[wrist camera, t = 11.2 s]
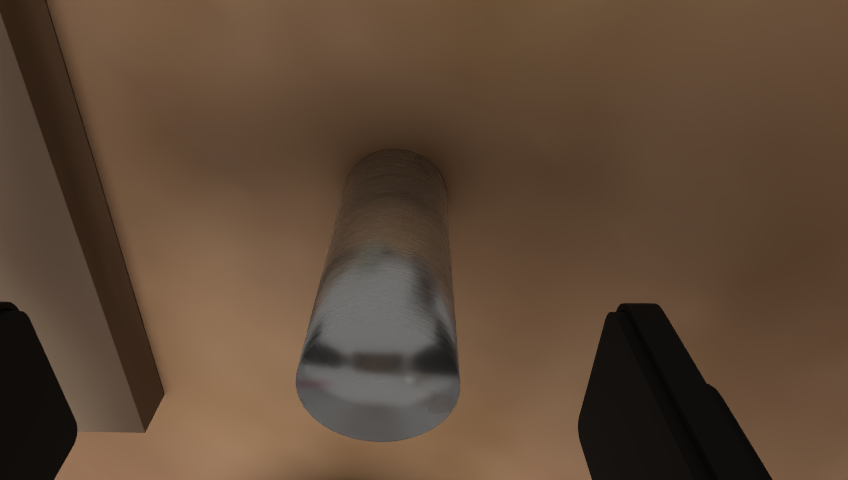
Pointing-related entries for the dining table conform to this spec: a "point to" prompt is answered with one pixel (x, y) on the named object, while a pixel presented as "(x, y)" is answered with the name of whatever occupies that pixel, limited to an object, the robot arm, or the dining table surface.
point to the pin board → (65, 236)
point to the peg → (384, 307)
